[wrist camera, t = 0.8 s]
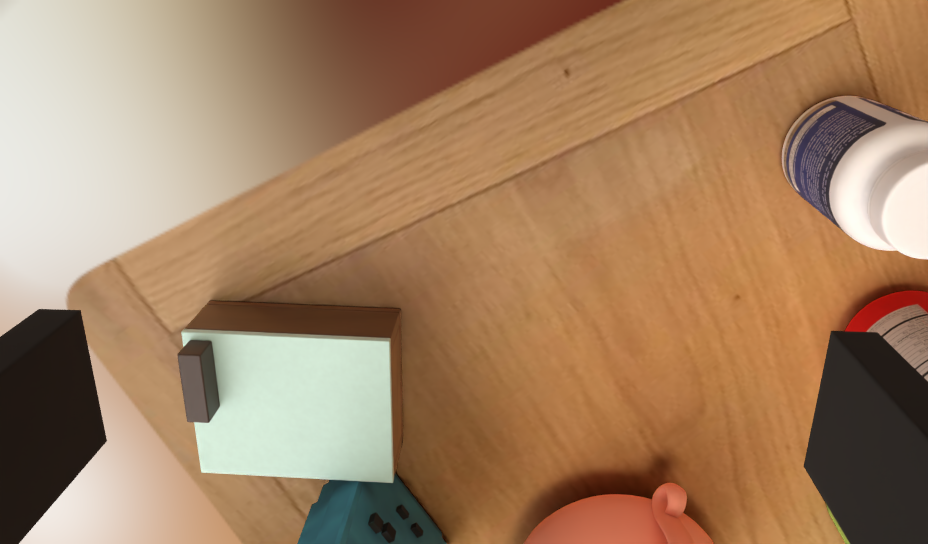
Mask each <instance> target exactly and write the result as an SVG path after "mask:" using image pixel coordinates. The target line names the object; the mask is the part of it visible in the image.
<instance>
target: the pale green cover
mask: <svg viewBox="0 0 928 544" xmlns="http://www.w3.org/2000/svg"><path fill="white" fill-rule="evenodd" d="M181 333H182V340H183V348H182V350H181V351H180V352H179V353H178V362H179V369H180V376H181V383H182V389H183V396H184V403H185V410H186V417H187V422H194V424H195V431H196V438H197V445H198V452H199V459H200V466H201V472H203V473H221V474H239V475H257V476H275V477H293V478H311V479H329V480H347V481H365V482H383V483H393V481H394V457H393V415H392V373H391V339H390V338H376V337H354V336H331V335H309V334H287V333H265V332H243V331H221V330H198V329H184V330H183V331H182V332H181Z"/></svg>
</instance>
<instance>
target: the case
mask: <svg viewBox="0 0 928 544" xmlns="http://www.w3.org/2000/svg"><path fill="white" fill-rule="evenodd" d="M185 329H198V330H221V331H243V332H265V333H287V334H309V335H331V336H354V337H376V338H390V339H391V373H392V415H393V457H394V476H395V472H396V468H397V464H398V459H399V455H400V451H401V447H402V443H403V420H402V364H401V310H400V309H392V308H368V307H345V306H322V305H299V304H275V303H252V302H229V301H209V302H208V303H207V305H206V306H205V307H204V308H203V309H202V310H201V311H200V312H199V313H198V314H197V316H196V317H195V318H194V319H193V320H192V321H191V322H190V323H189V324H188V326H187V327H186V328H185Z"/></svg>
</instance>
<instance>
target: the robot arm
mask: <svg viewBox="0 0 928 544" xmlns="http://www.w3.org/2000/svg"><path fill="white" fill-rule="evenodd" d="M106 441H107V440H106V435H105V430H104V425H103V420H102V415H101V410H100V405H99V400H98V395H97V390H96V385H95V380H94V375H93V371H92V365H91V360H90V355H89V350H88V345H87V340H86V335H85V330H84V325H83V320H82V315H81V310H49V309H39V310H37V311H36V312H34V313H33V314H32V315H30V316H29V317H28V318H26V319H25V320H23V321H22V322H21V323H19V324H18V325H16V326H15V327H13V328H12V329H11V330H9V331H8V332H6V333H5V334H4V335H2V336H1V337H0V544H19V543H20V541H21V540H22V539H23V538H24V537H25V536H26V534H27V533H28V532H29V531H30V530H31V529H32V527H33V526H34V525H35V524H36V523H37V522H38V520H39V519H40V518H41V517H42V516H43V514H44V513H45V512H46V511H47V510H48V509H49V508H50V506H51V505H52V504H53V503H54V502H55V501H56V499H57V498H58V497H59V496H60V495H61V494H62V493H63V491H64V490H65V489H66V488H67V487H68V486H69V484H70V483H71V482H72V481H73V480H74V478H75V477H76V476H77V475H78V473H80V472H81V470H82V469H83V468H84V467H85V466H86V464H87V463H88V462H89V461H90V460H91V459H92V458H93V456H94V455H95V454H96V453H97V451H99V449H100V448H101V447H102V446H103V445H104V444H105V442H106ZM804 468H805V469H806V471H807V473H808V474H809V476H810V478H811V479H812V481H813V483H814V484H815V486H816V488H817V489H818V491H819V493H820V494H821V496H822V498H823V499H824V501H825V503H826V504H827V506H828V508H829V509H830V511H831V513H832V514H833V516H834V518H835V519H836V521H837V523H838V524H839V526H840V528H841V530H842V531H843V533H844V535H845V536H846V538H847V540H848V541H849V543H850V544H928V381H927V380H926V379H925V378H924V377H923V376H922V375H921V374H920V373H919V372H918V371H917V370H916V369H915V368H914V367H912V366H911V365H910V364H909V363H908V362H907V361H906V360H905V359H904V358H903V357H902V356H901V355H900V354H899V353H898V352H897V351H896V350H895V349H894V348H893V347H892V346H891V345H890V344H889V343H888V342H887V341H886V340H885V339H884V338H883V337H882V336H881V335H880V334H879V333H878V332H850V331H831V335H830V340H829V345H828V349H827V354H826V359H825V364H824V369H823V374H822V379H821V384H820V389H819V394H818V399H817V404H816V408H815V413H814V418H813V423H812V428H811V433H810V438H809V443H808V448H807V453H806V458H805V463H804Z"/></svg>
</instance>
